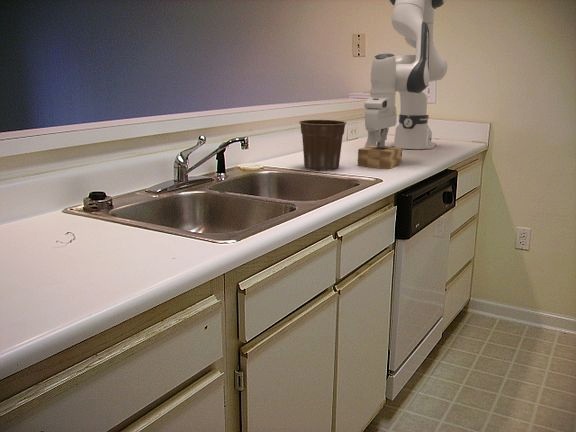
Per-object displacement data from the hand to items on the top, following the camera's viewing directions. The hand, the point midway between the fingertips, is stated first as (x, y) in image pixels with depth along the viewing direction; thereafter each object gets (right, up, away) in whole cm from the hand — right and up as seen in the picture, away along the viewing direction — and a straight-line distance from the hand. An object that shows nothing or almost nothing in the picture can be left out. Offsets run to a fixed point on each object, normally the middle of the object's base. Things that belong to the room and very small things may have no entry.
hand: (380, 141), depth 204 cm
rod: (0, -8, +2) cm, 9 cm away
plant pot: (-21, -10, -3) cm, 24 cm away
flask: (0, -3, +24) cm, 24 cm away
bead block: (0, -8, +2) cm, 9 cm away
